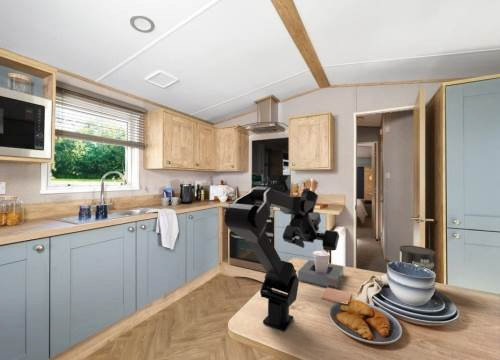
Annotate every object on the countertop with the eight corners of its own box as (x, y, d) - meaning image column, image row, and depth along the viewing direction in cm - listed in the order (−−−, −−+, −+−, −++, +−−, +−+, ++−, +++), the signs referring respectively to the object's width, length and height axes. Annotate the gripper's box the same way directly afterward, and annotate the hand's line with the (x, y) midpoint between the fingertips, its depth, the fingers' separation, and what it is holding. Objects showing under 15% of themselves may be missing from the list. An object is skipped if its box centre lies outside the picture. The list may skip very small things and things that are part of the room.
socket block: (336, 289, 81) (336, 279, 80) (298, 280, 88) (298, 271, 88) (343, 275, 93) (343, 266, 92) (308, 268, 100) (309, 259, 100)
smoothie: (332, 281, 87) (332, 244, 87) (315, 281, 87) (315, 244, 87) (326, 274, 93) (327, 239, 93) (311, 274, 93) (311, 239, 93)
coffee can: (442, 298, 75) (443, 255, 75) (407, 295, 77) (408, 253, 77) (424, 284, 85) (425, 246, 85) (394, 281, 87) (394, 244, 87)
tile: (347, 305, 70) (347, 304, 70) (321, 298, 74) (321, 297, 74) (351, 294, 77) (351, 293, 77) (327, 288, 81) (327, 287, 81)
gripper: (337, 207, 75) (346, 234, 84) (286, 203, 86) (298, 227, 95) (330, 236, 69) (340, 262, 78) (275, 228, 80) (289, 251, 89)
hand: (315, 249), depth 85 cm, fingers open, 9 cm apart
